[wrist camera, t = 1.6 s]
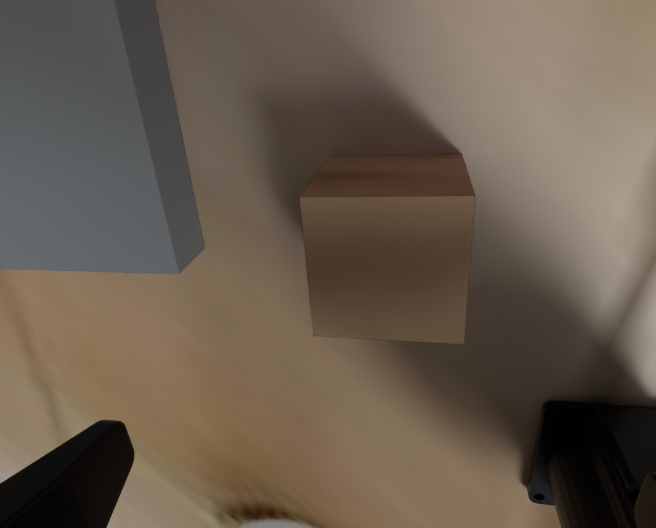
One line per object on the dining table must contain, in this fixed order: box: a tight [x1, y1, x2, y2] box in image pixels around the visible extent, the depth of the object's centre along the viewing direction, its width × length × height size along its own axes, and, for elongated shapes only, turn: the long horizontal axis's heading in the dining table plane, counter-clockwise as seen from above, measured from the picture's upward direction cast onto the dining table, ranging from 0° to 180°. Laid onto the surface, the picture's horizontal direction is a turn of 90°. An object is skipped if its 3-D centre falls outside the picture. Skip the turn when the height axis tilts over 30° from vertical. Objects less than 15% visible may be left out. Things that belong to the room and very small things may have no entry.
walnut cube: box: [300, 154, 475, 344], centre depth 16 cm, size 5×5×5 cm
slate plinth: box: [0, 0, 205, 274], centre depth 18 cm, size 11×11×2 cm
